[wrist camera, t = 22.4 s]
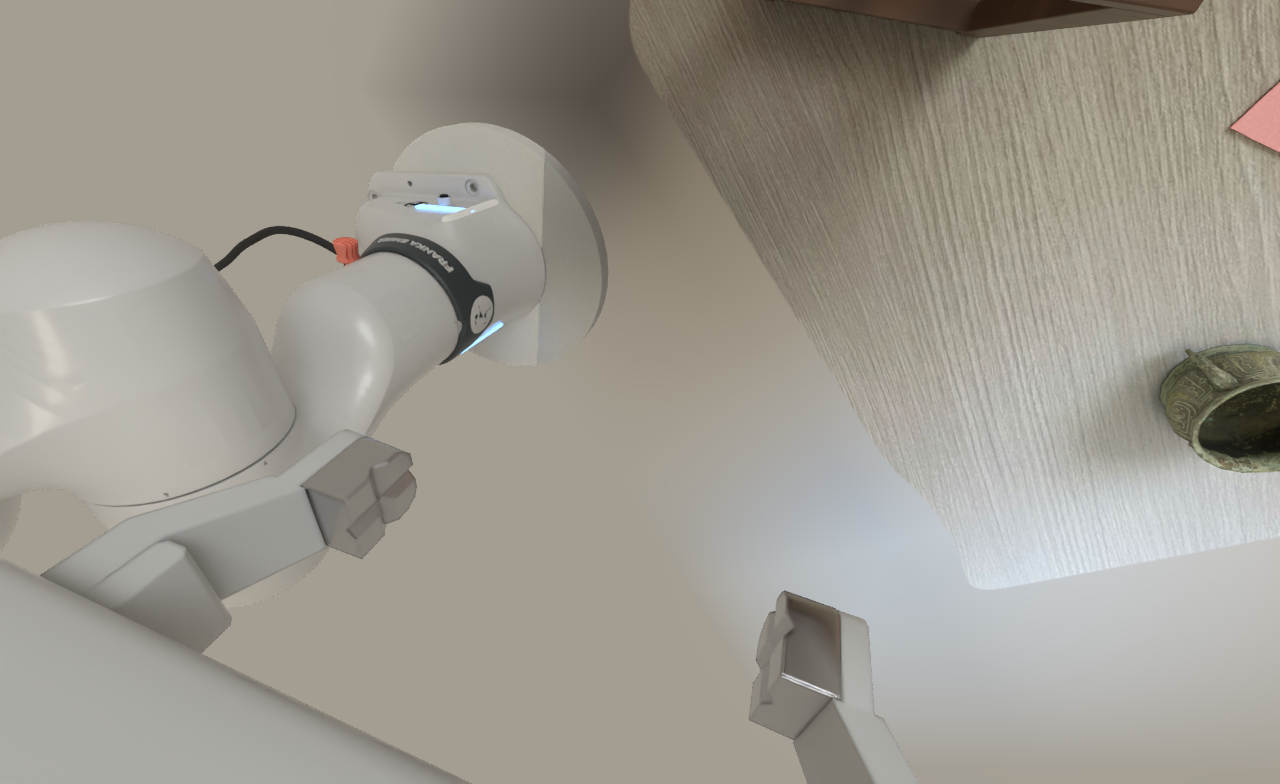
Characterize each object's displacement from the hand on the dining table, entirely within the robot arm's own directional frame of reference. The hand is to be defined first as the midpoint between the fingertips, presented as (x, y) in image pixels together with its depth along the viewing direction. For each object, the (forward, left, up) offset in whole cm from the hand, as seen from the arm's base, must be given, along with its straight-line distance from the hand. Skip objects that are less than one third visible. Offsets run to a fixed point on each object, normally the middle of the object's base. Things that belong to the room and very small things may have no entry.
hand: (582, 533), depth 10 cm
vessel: (+40, -8, -41) cm, 58 cm away
